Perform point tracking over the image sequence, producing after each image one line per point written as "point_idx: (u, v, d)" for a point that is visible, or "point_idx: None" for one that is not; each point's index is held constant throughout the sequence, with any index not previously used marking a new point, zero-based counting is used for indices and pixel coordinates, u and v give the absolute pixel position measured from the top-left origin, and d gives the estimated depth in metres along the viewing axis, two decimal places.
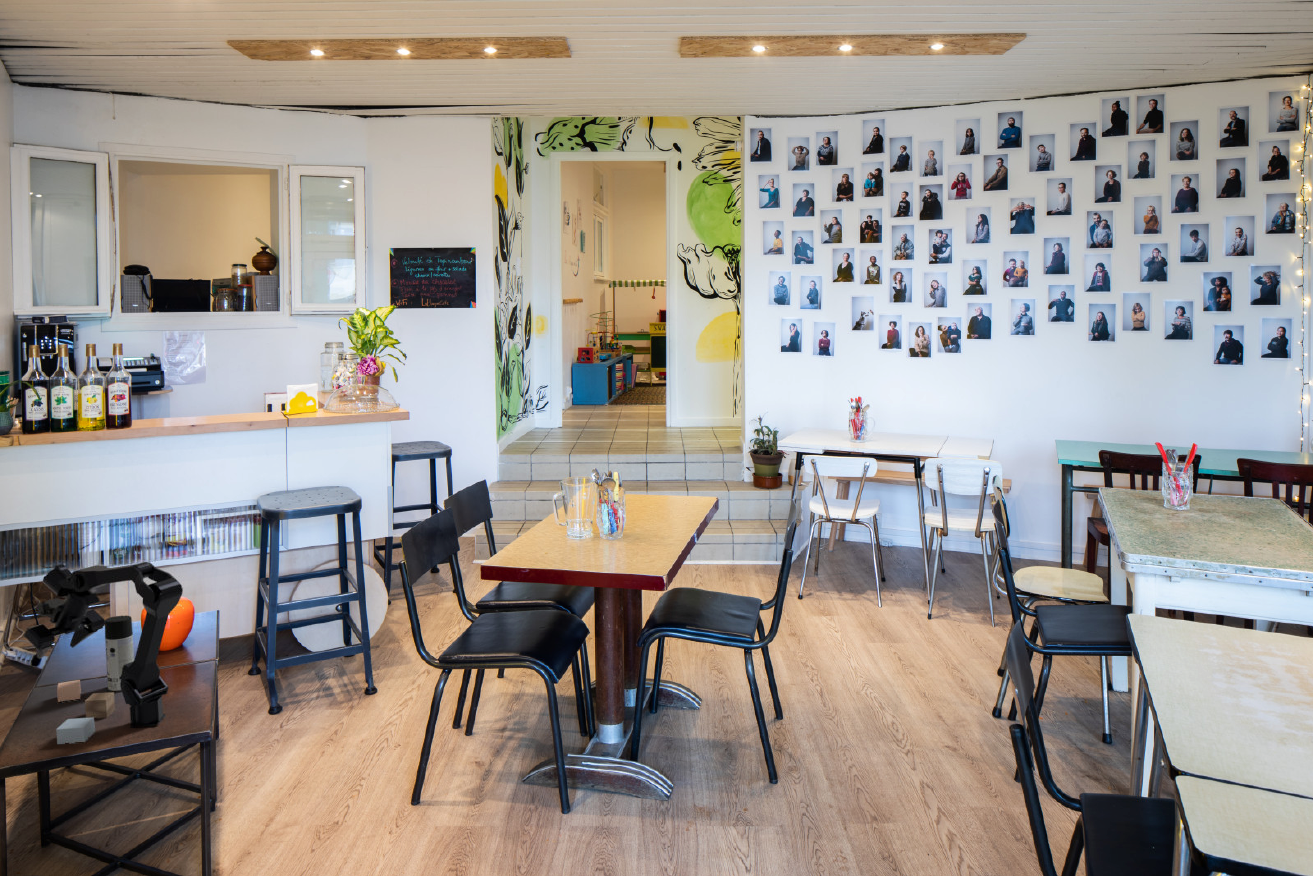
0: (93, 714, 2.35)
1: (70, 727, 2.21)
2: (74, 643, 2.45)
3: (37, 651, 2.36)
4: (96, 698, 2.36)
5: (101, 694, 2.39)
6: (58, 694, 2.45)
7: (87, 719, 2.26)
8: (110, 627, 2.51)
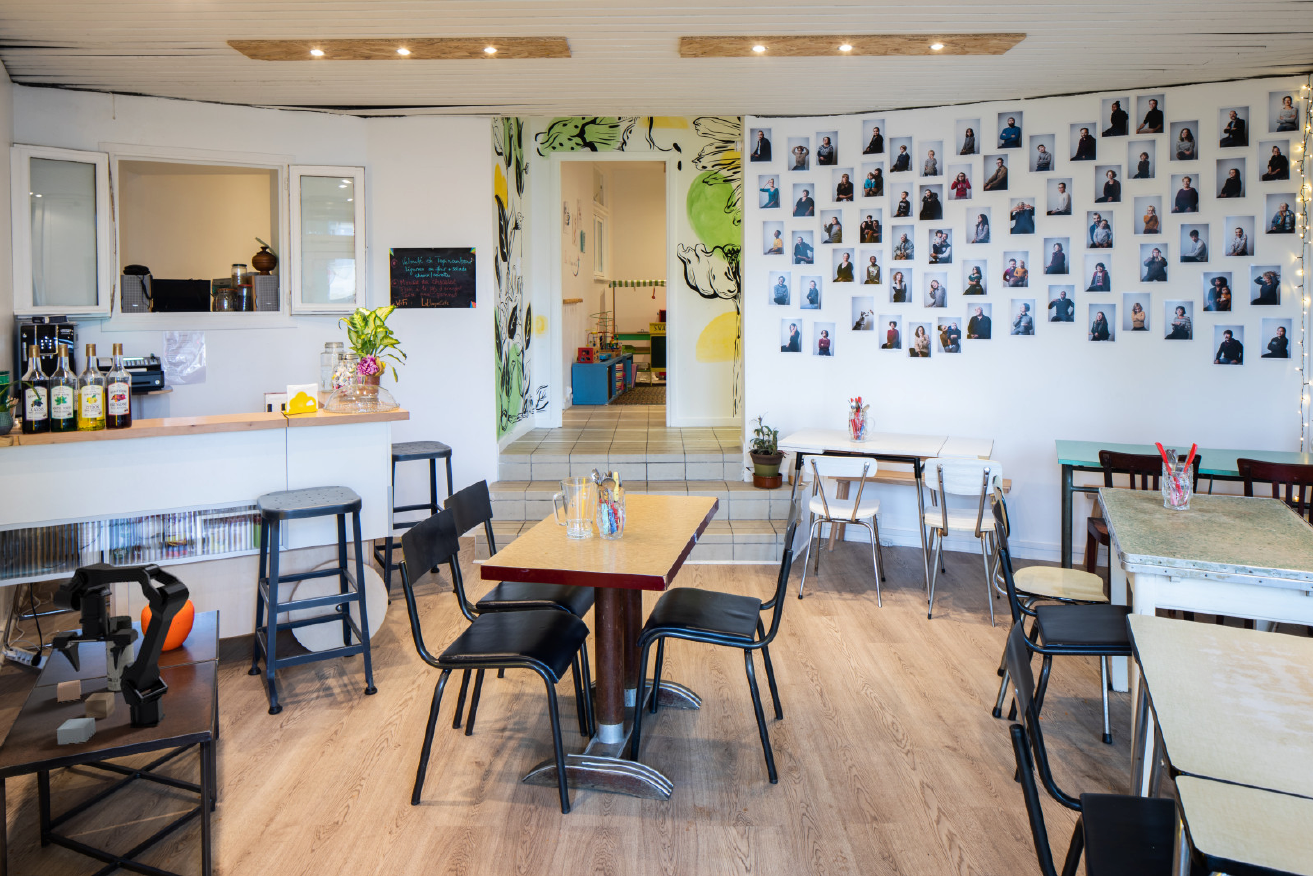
0: (93, 714, 2.35)
1: (71, 728, 2.21)
2: None
3: None
4: (96, 698, 2.36)
5: (101, 694, 2.39)
6: (58, 694, 2.45)
7: (87, 719, 2.26)
8: None
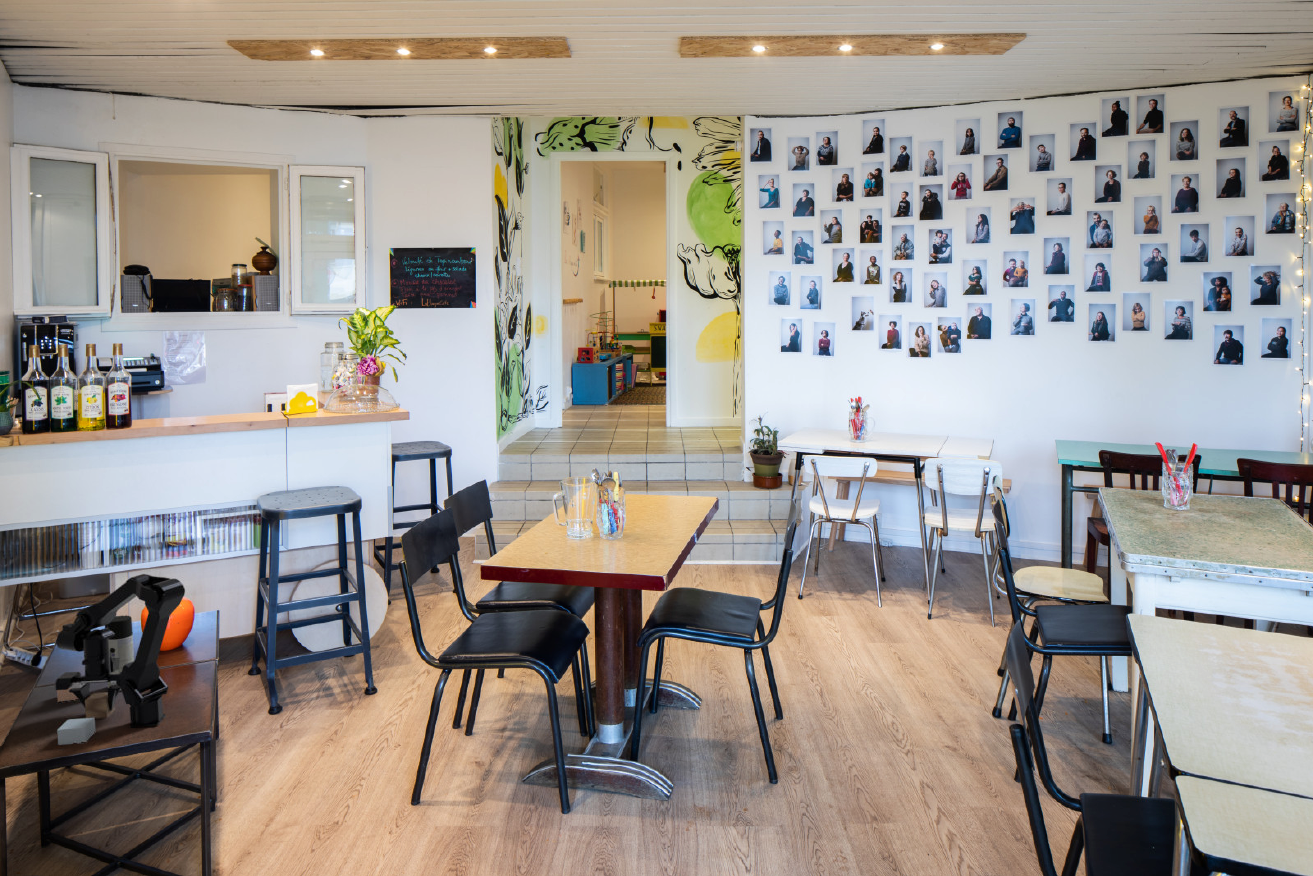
0: (93, 713, 2.35)
1: (71, 728, 2.21)
2: None
3: None
4: (96, 698, 2.36)
5: (101, 694, 2.39)
6: (58, 694, 2.45)
7: (87, 719, 2.26)
8: (110, 627, 2.51)
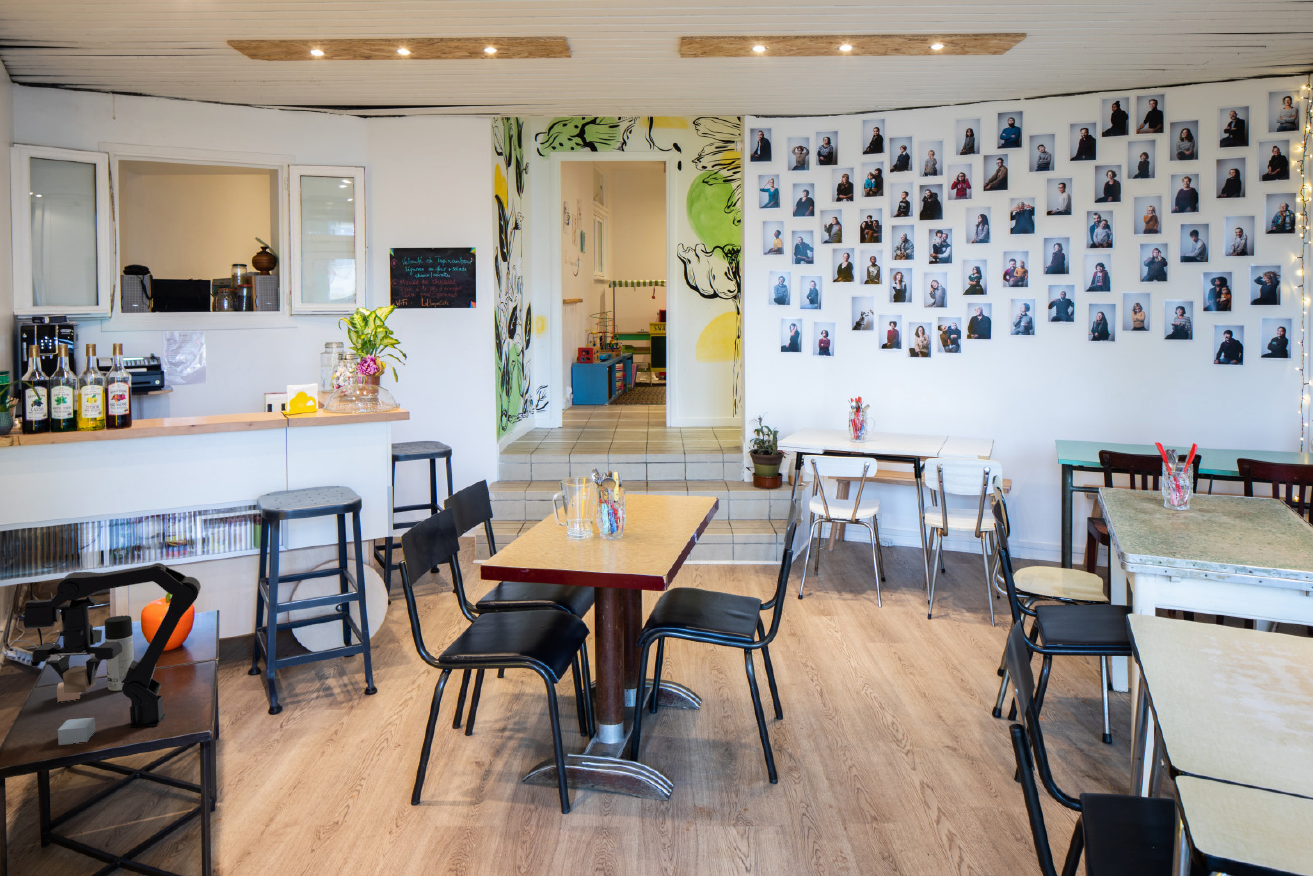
0: (71, 687, 2.24)
1: (71, 728, 2.21)
2: None
3: None
4: (75, 671, 2.25)
5: (81, 667, 2.28)
6: (58, 694, 2.45)
7: (87, 719, 2.26)
8: (110, 627, 2.51)
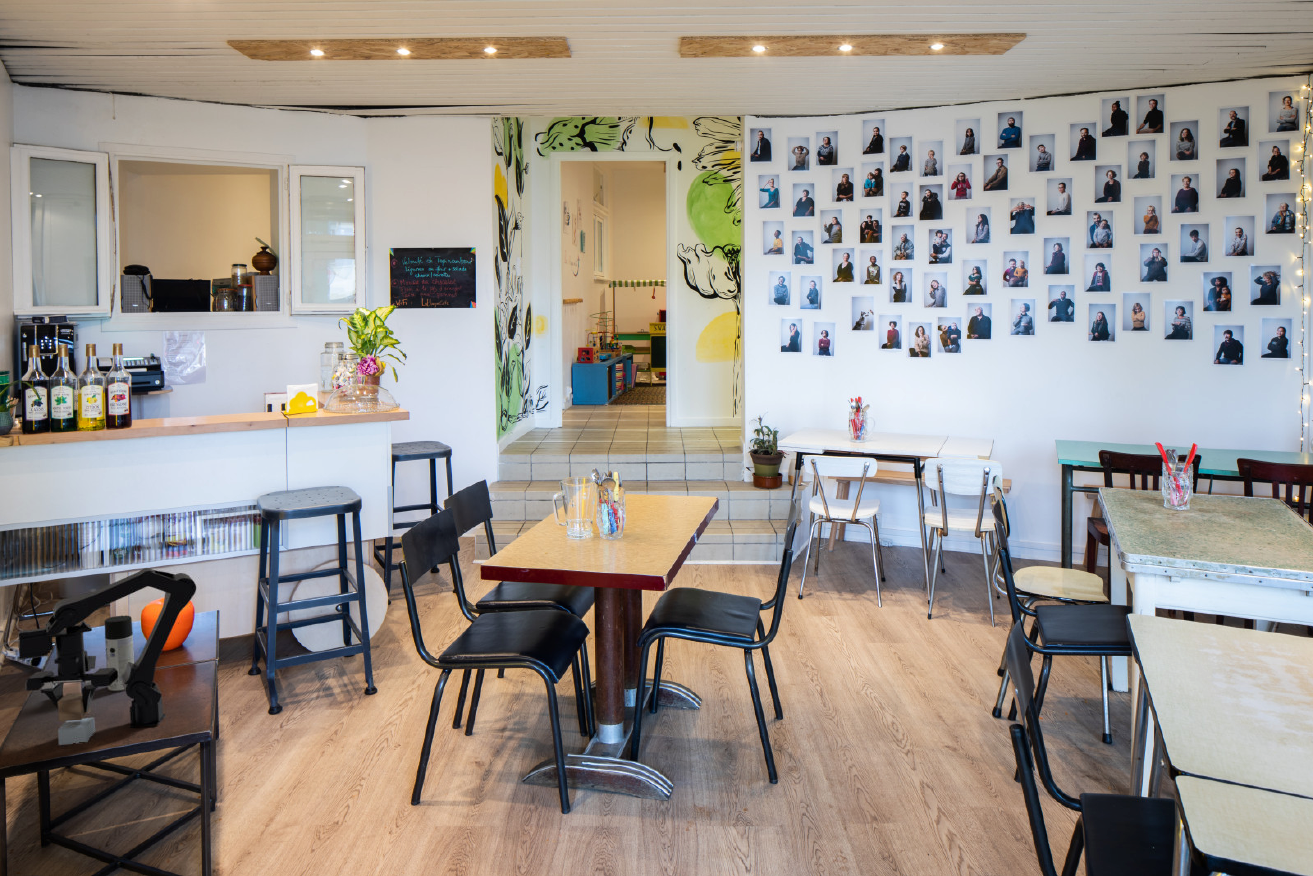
0: (66, 715, 2.21)
1: (72, 728, 2.21)
2: None
3: None
4: (70, 698, 2.22)
5: (76, 694, 2.24)
6: None
7: (87, 719, 2.26)
8: (110, 627, 2.51)
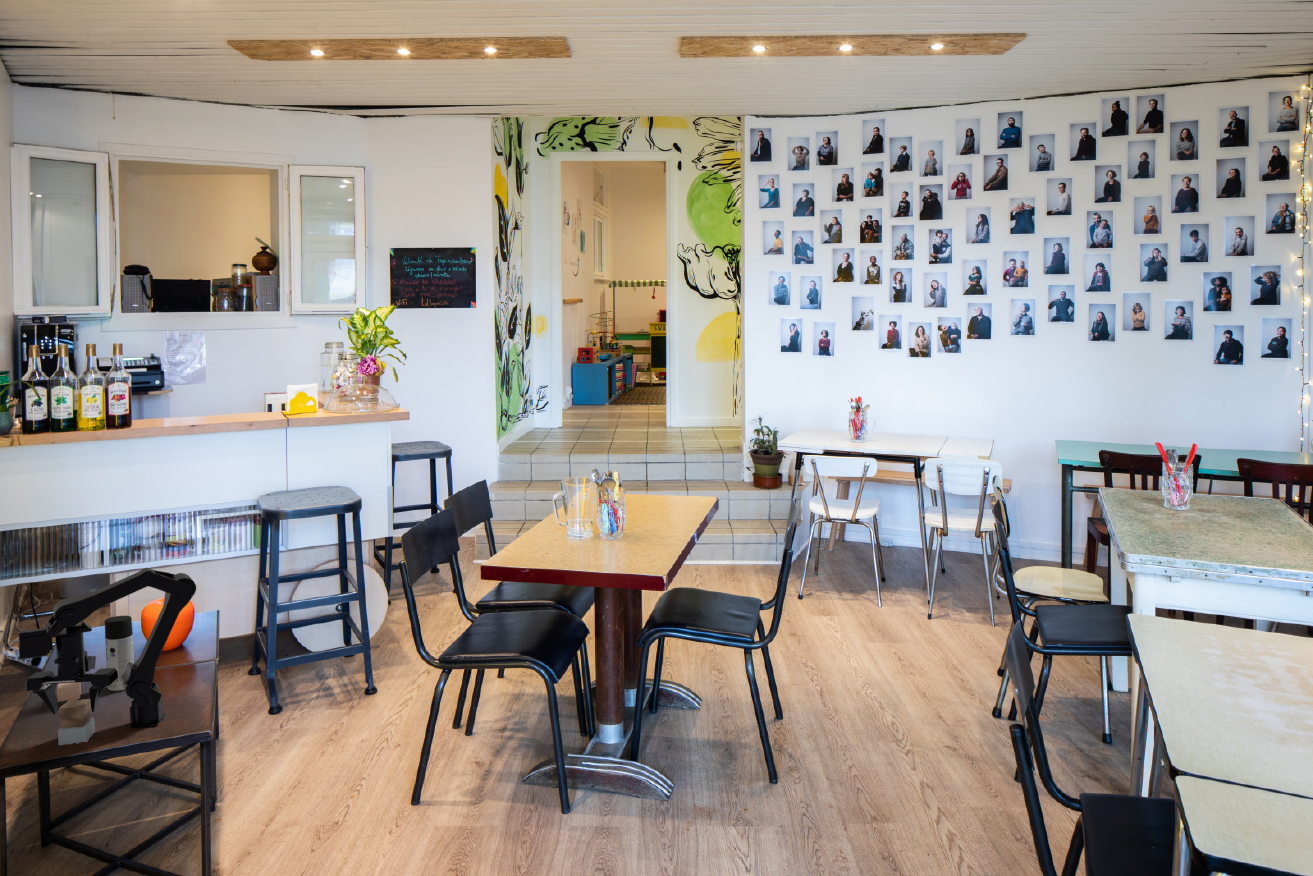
0: (68, 722, 2.21)
1: (72, 728, 2.21)
2: None
3: None
4: (71, 705, 2.22)
5: (77, 701, 2.24)
6: (58, 694, 2.45)
7: None
8: (110, 627, 2.51)
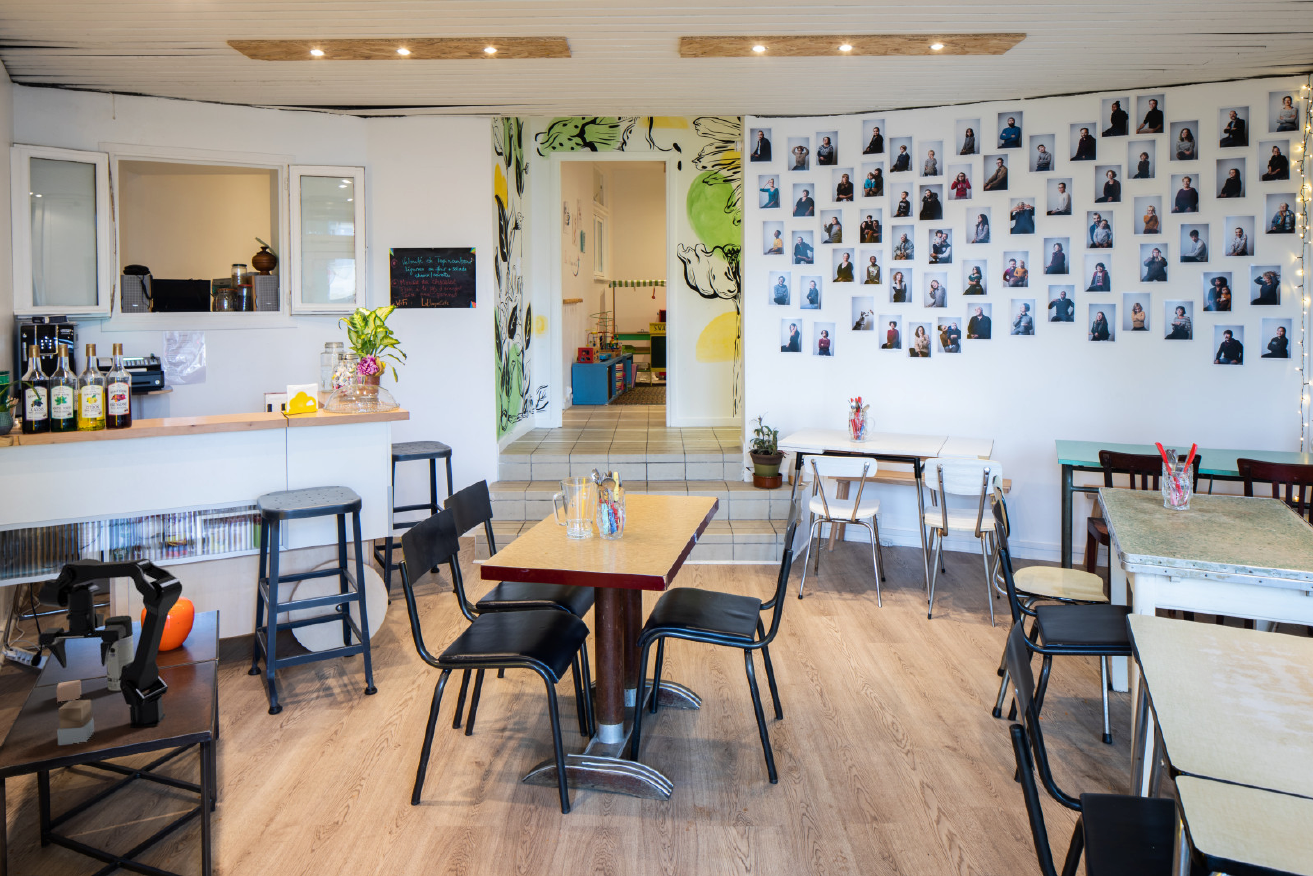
0: (67, 722, 2.21)
1: (71, 728, 2.21)
2: None
3: None
4: (71, 706, 2.21)
5: (77, 702, 2.24)
6: (58, 694, 2.45)
7: None
8: None
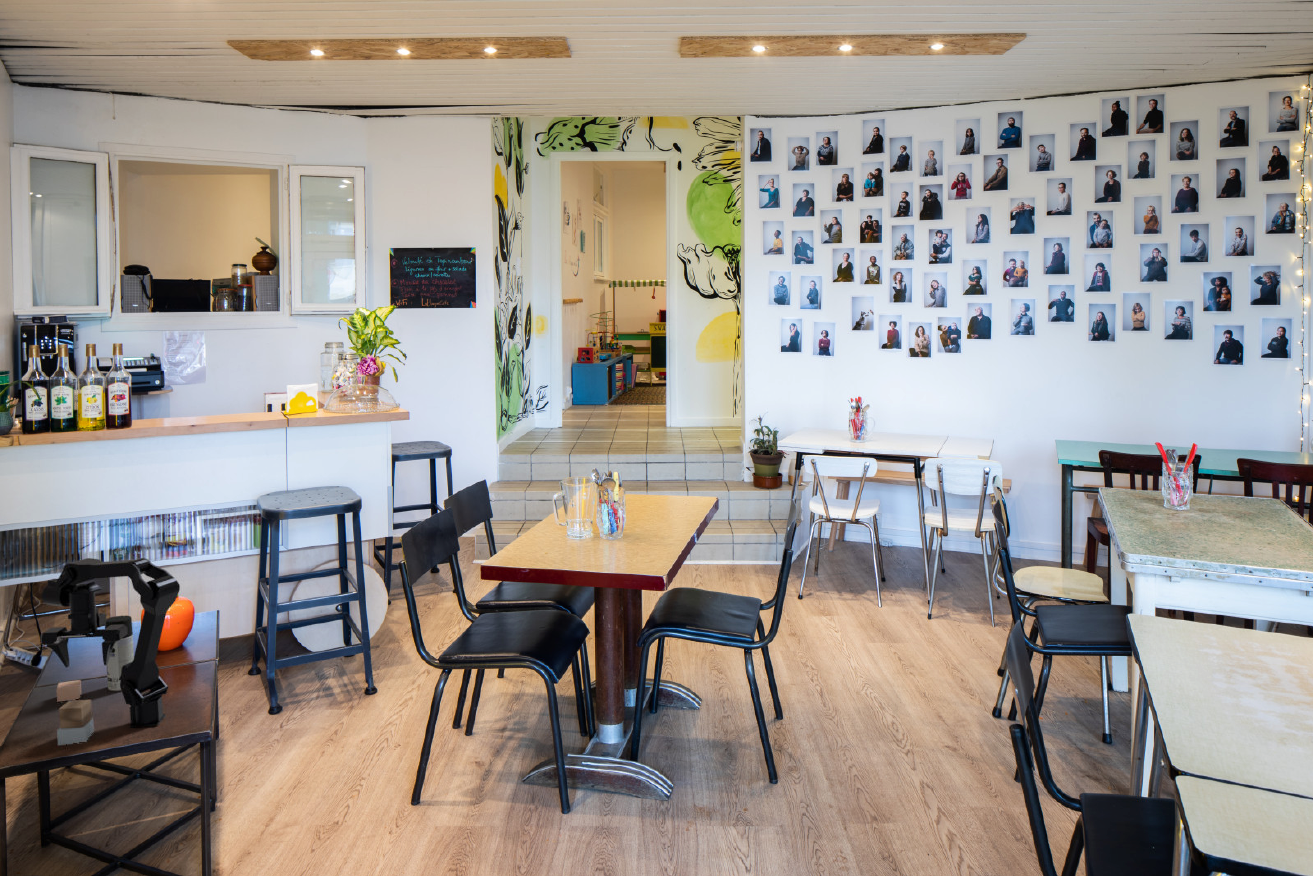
0: (67, 722, 2.21)
1: (71, 728, 2.21)
2: None
3: None
4: (71, 706, 2.22)
5: (78, 701, 2.24)
6: (58, 694, 2.45)
7: None
8: None
